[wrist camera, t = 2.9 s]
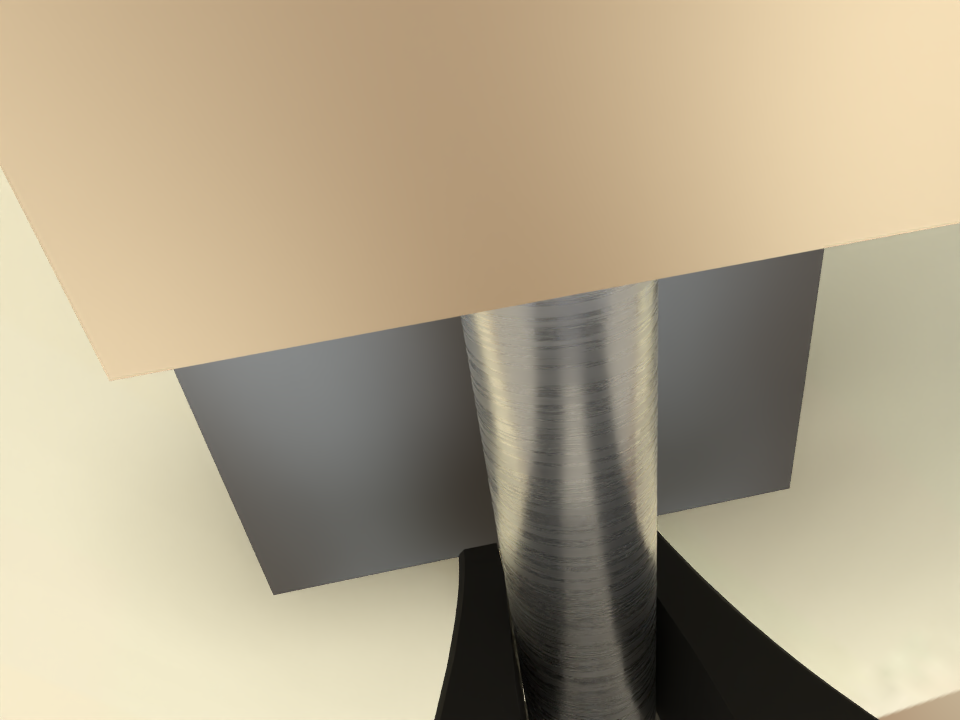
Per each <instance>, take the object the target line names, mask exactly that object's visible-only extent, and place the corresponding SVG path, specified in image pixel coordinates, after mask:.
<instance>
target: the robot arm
mask: <svg viewBox="0 0 960 720" xmlns="http://www.w3.org/2000/svg"><path fill="white" fill-rule="evenodd" d="M656 712H657V714H658V716H659V718H660V720H879V719H877V718H876V717H874V716H873V715H871V714H870V713H868V712H867V711H865V710H864V709H863V708H861V707H860V706H858V705H857V704H856V703H854V702H853V701H851V700H850V699H848V698H847V697H846V696H844V695H843V694H841V693H840V692H839V691H837V690H836V689H834V688H833V687H832V686H830V685H829V684H828V683H826V682H825V681H824V680H822V679H821V678H820V677H818V676H817V675H816V674H814V673H813V672H812V671H810V670H809V669H808V668H806V667H805V666H804V665H803V664H801V663H800V662H799V661H797V660H796V659H795V658H794V657H792V656H791V655H790V654H789V653H787V652H786V651H785V650H784V649H783V648H781V647H780V646H779V645H778V644H776V643H775V642H774V641H773V640H772V639H770V638H769V637H768V636H767V635H766V634H765V633H763V632H762V631H761V630H760V629H759V628H757V627H756V626H755V625H754V624H753V623H752V622H750V621H749V620H748V619H747V618H746V617H745V616H744V615H743V614H741V613H740V612H739V611H738V610H737V609H736V608H735V607H734V606H733V605H731V604H730V603H729V602H728V601H727V600H726V599H725V598H724V597H723V596H722V595H721V594H720V593H719V592H718V591H716V590H715V589H714V588H713V587H712V586H711V585H710V584H709V583H708V582H707V581H706V580H705V579H704V578H703V577H702V576H701V575H700V574H699V573H698V572H697V571H696V570H695V569H693V568H692V566H691V565H690V564H689V563H688V562H687V561H686V560H685V559H684V558H683V557H682V556H681V555H680V554H679V553H678V552H677V551H676V550H675V549H674V548H673V547H672V546H671V545H670V544H669V543H668V542H667V541H666V540H665V539H664V537H663V536H662V535H661V534H660V533H659V532H658V531H657V583H656ZM434 720H527V718H526V709H525V701H524V693H523V685H522V677H521V671H520V665H519V659H518V653H517V647H516V641H515V635H514V630H513V624H512V618H511V612H510V606H509V600H508V594H507V588H506V582H505V576H504V571H503V567H502V562H501V558H500V554H499V550H498V546H497V543H492V544H487V545H483V546H478V547H473V548H468V549H464V550H463V551H462V552H461V553H460V554H459V589H458V600H457V609H456V617H455V624H454V630H453V635H452V641H451V647H450V653H449V659H448V664H447V669H446V673H445V677H444V681H443V686H442V690H441V694H440V699H439V703H438V707H437V711H436V715H435V719H434Z"/></svg>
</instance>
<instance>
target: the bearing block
mask: <svg viewBox="0 0 960 720" xmlns="http://www.w3.org/2000/svg"><path fill="white" fill-rule="evenodd" d="M0 166H1V168H2V170H3V172H4V174H5V176H6V178H7V180H8V182H9V184H10V186H11V188H12V190H13V192H14V194H15V196H16V198H17V200H18V202H19V204H20V205H21V207H22V209H23V211H24V213H25V215H26V217H27V219H28V221H29V223H30V225H31V227H32V229H33V231H34V233H35V235H36V237H37V239H38V241H39V243H40V245H41V247H42V249H43V251H44V253H45V255H46V257H47V259H48V261H49V263H50V265H51V266H52V268H53V270H54V272H55V274H56V276H57V278H58V280H59V282H60V284H61V286H62V288H63V290H64V292H65V294H66V296H67V298H68V300H69V302H70V304H71V306H72V308H73V310H74V312H75V314H76V316H77V318H78V320H79V322H80V324H81V326H82V328H83V329H84V331H85V333H86V335H87V337H88V339H89V341H90V343H91V345H92V347H93V349H94V351H95V353H96V355H97V357H98V359H99V361H100V363H101V365H102V367H103V369H104V371H105V373H106V375H107V377H108V379H109V381H112V380H118V379H123V378H129V377H134V376H139V375H145V374H150V373H156V372H161V371H166V370H172V369H174V371H175V374H176V376H177V378H178V380H179V383H180V385H181V387H182V389H183V392H184V394H185V396H186V398H187V401H188V403H189V405H190V407H191V410H192V412H193V414H194V416H195V419H196V421H197V423H198V425H199V428H200V430H201V432H202V435H203V437H204V439H205V441H206V444H207V446H208V448H209V450H210V453H211V455H212V457H213V459H214V462H215V464H216V466H217V468H218V471H219V473H220V475H221V477H222V480H223V482H224V484H225V486H226V489H227V491H228V493H229V495H230V498H231V500H232V502H233V504H234V507H235V509H236V511H237V513H238V516H239V518H240V520H241V523H242V525H243V527H244V529H245V532H246V534H247V536H248V538H249V541H250V543H251V545H252V547H253V550H254V552H255V554H256V556H257V559H258V561H259V563H260V565H261V568H262V570H263V572H264V574H265V577H266V579H267V581H268V583H269V586H270V588H271V590H272V592H273V595H276V594H281V593H286V592H291V591H295V590H300V589H305V588H310V587H315V586H320V585H324V584H329V583H334V582H339V581H344V580H349V579H353V578H358V577H363V576H368V575H373V574H378V573H382V572H387V571H392V570H397V569H402V568H407V567H411V566H416V565H421V564H426V563H431V562H436V561H440V560H445V559H450V558H455V557H459V554H460V553H461V552H462V551H463V550H464V549H468V548H473V547H478V546H483V545H487V544H492V543H497V546H498V548H500V546H499V540H498V534H497V528H496V523H495V517H494V511H493V505H492V499H491V493H490V487H489V481H488V475H487V469H486V463H485V457H484V451H483V445H482V439H481V433H480V427H479V421H478V416H477V410H476V404H475V398H474V392H473V386H472V380H471V374H470V368H469V362H468V356H467V350H466V344H465V338H464V332H463V326H462V320H461V316H462V315H468V314H473V313H478V312H484V311H489V310H495V309H500V308H505V307H511V306H516V305H522V304H527V303H532V302H538V301H543V300H548V299H554V298H559V297H565V296H570V295H575V294H581V293H586V292H592V291H597V290H602V289H608V288H613V287H618V286H624V285H629V284H635V283H640V282H645V281H651V280H656V279H658V430H657V516H658V515H663V514H667V513H672V512H677V511H682V510H687V509H692V508H696V507H701V506H706V505H711V504H716V503H721V502H725V501H730V500H735V499H740V498H745V497H750V496H754V495H759V494H764V493H769V492H774V491H779V490H783V489H788V488H790V481H791V474H792V467H793V460H794V453H795V446H796V439H797V432H798V426H799V419H800V412H801V405H802V398H803V391H804V384H805V377H806V370H807V363H808V356H809V349H810V343H811V336H812V329H813V322H814V315H815V308H816V301H817V294H818V287H819V280H820V273H821V267H822V260H823V253H824V248H828V247H834V246H839V245H844V244H850V243H855V242H861V241H866V240H871V239H877V238H882V237H888V236H893V235H898V234H904V233H909V232H914V231H920V230H925V229H931V228H936V227H941V226H947V225H952V224H958V223H960V0H0Z"/></svg>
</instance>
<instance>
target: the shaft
mask: <svg viewBox="0 0 960 720" xmlns="http://www.w3.org/2000/svg"><path fill="white" fill-rule="evenodd" d="M461 320H462V326H463V332H464V338H465V344H466V350H467V356H468V362H469V368H470V374H471V380H472V386H473V392H474V398H475V404H476V410H477V416H478V421H479V427H480V433H481V439H482V445H483V451H484V457H485V463H486V469H487V475H488V481H489V487H490V493H491V499H492V505H493V511H494V517H495V523H496V528H497V534H498V540H499V546H500V552H501V558H502V564H503V570H504V576H505V582H506V588H507V594H508V600H509V606H510V612H511V618H512V624H513V630H514V635H515V641H516V647H517V653H518V659H519V665H520V671H521V677H522V683H523V689H524V695H525V709H526V718H527V720H660V718H659V716H658V714H657V712H656V583H657V430H658V279H656V280H651V281H645V282H640V283H635V284H629V285H624V286H618V287H613V288H608V289H602V290H597V291H592V292H586V293H581V294H575V295H570V296H565V297H559V298H554V299H548V300H543V301H538V302H532V303H527V304H522V305H516V306H511V307H505V308H500V309H495V310H489V311H484V312H478V313H473V314H468V315H462V316H461Z"/></svg>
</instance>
